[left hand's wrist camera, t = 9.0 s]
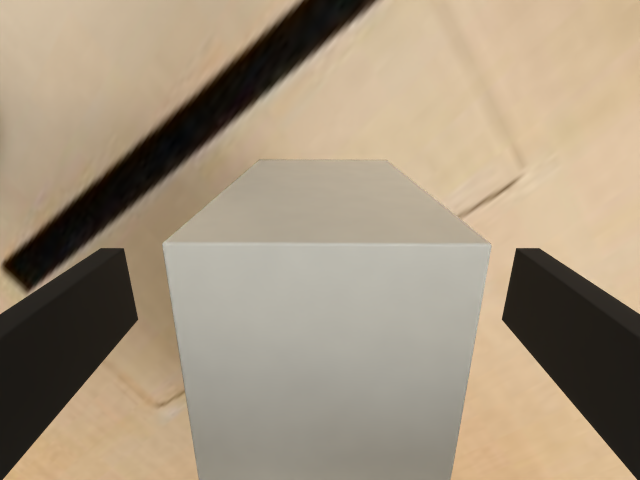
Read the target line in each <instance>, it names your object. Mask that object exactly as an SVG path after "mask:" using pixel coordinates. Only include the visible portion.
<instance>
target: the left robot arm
mask: <svg viewBox="0 0 640 480" xmlns="http://www.w3.org/2000/svg"><path fill="white" fill-rule="evenodd" d="M137 320H138V316H137V312H136V307H135V302H134V297H133V292H132V287H131V282H130V277H129V272H128V267H127V262H126V257H125V252H124V248H101V249H99V250H98V251H96V252H94V253H93V254H91V255H90V256H88V257H87V258H85V259H84V260H82V261H81V262H79V263H78V264H76V265H75V266H73V267H72V268H70V269H69V270H67V271H66V272H64V273H62V274H61V275H59V276H58V277H56V278H55V279H53V280H52V281H50V282H49V283H47V284H46V285H44V286H43V287H41V288H40V289H38V290H37V291H35V292H34V293H32V294H30V295H29V296H27V297H26V298H24V299H23V300H21V301H20V302H18V303H17V304H15V305H14V306H12V307H11V308H9V309H8V310H6V311H5V312H3V313H2V314H0V480H3V479H4V477H5V476H6V475H7V474H8V473H9V472H10V470H11V469H12V468H13V467H14V466H15V464H16V463H17V462H18V461H19V460H20V459H21V457H22V456H23V455H24V454H25V453H26V451H27V450H28V449H29V448H30V447H31V446H32V444H33V443H34V442H35V441H36V440H37V438H38V437H39V436H40V435H41V434H42V433H43V431H44V430H45V429H46V428H47V427H48V425H49V424H50V423H51V422H52V421H53V420H54V418H55V417H56V416H57V415H58V414H59V412H60V411H61V410H62V409H63V408H64V407H65V405H66V404H67V403H68V402H69V401H70V399H71V398H72V397H73V396H74V395H75V394H76V392H77V391H78V390H79V389H80V388H81V386H82V385H83V384H84V383H85V382H86V380H87V379H88V378H89V377H90V376H91V375H92V373H93V372H94V371H95V370H96V369H97V367H98V366H99V365H100V364H101V363H102V362H103V360H104V359H105V358H106V357H107V356H108V354H109V353H110V352H111V351H112V350H113V349H114V347H115V346H116V345H117V344H118V343H119V341H120V340H121V339H122V338H123V337H124V336H125V334H126V333H127V332H128V331H129V330H130V328H131V327H132V326H133V325H134V324H135V323H136V321H137ZM502 320H503V321H504V323H505V324H506V325H507V326H508V327H509V328H510V330H511V331H512V332H513V333H514V334H515V336H516V337H517V338H518V339H519V340H520V341H521V343H522V344H523V345H524V346H525V347H526V349H527V350H528V351H529V352H530V353H531V354H532V356H533V357H534V358H535V359H536V360H537V362H538V363H539V364H540V365H541V366H542V367H543V369H544V370H545V371H546V372H547V373H548V375H549V376H550V377H551V378H552V379H553V380H554V382H555V383H556V384H557V385H558V386H559V388H560V389H561V390H562V391H563V392H564V394H565V395H566V396H567V397H568V398H569V399H570V401H571V402H572V403H573V404H574V405H575V407H576V408H577V409H578V410H579V411H580V412H581V414H582V415H583V416H584V417H585V418H586V420H587V421H588V422H589V423H590V424H591V425H592V427H593V428H594V429H595V430H596V431H597V433H598V434H599V435H600V436H601V437H602V438H603V440H604V441H605V442H606V443H607V444H608V446H609V447H610V448H611V449H612V450H613V451H614V453H615V454H616V455H617V456H618V457H619V459H620V460H621V461H622V462H623V463H624V464H625V466H626V467H627V468H628V469H629V470H630V472H631V473H632V474H633V475H634V476H635V477H636V479H637V480H640V314H638V313H637V312H635V311H634V310H632V309H631V308H629V307H628V306H626V305H625V304H623V303H622V302H620V301H619V300H617V299H616V298H614V297H613V296H611V295H610V294H608V293H606V292H605V291H603V290H602V289H600V288H599V287H597V286H596V285H594V284H593V283H591V282H590V281H588V280H587V279H585V278H584V277H582V276H581V275H579V274H578V273H576V272H574V271H573V270H571V269H570V268H568V267H567V266H565V265H564V264H562V263H561V262H559V261H558V260H556V259H555V258H553V257H552V256H550V255H549V254H547V253H546V252H544V251H542V250H541V249H539V248H516V252H515V257H514V262H513V267H512V272H511V277H510V282H509V287H508V292H507V297H506V302H505V307H504V312H503V316H502Z"/></svg>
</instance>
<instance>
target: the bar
mask: <svg viewBox="0 0 640 480" xmlns="http://www.w3.org/2000/svg"><path fill="white" fill-rule="evenodd" d="M162 246H163V252H164V259H165V265H166V272H167V278H168V285H169V291H170V297H171V304H172V310H173V317H174V323H175V329H176V336H177V342H178V349H179V355H180V362H181V368H182V374H183V381H184V387H185V394H186V400H187V406H188V413H189V419H190V426H191V432H192V439H193V445H194V451H195V458H196V464H197V471H198V477H199V480H451V474H452V469H453V463H454V457H455V451H456V446H457V440H458V434H459V429H460V423H461V417H462V412H463V406H464V400H465V394H466V389H467V383H468V377H469V372H470V366H471V360H472V354H473V349H474V343H475V337H476V332H477V326H478V320H479V315H480V309H481V303H482V297H483V292H484V286H485V280H486V275H487V269H488V263H489V258H490V252H491V243H490V242H488V241H487V240H486V239H485V238H483V237H482V236H481V235H480V234H478V233H477V232H476V231H475V230H473V229H472V228H471V227H470V226H468V225H467V224H466V223H465V222H463V221H462V220H461V219H460V218H458V217H457V216H456V215H455V214H453V213H452V212H451V211H450V210H449V209H447V208H446V207H445V206H444V205H442V204H441V203H440V202H439V201H437V200H436V199H435V198H434V197H432V196H431V195H430V194H429V193H427V192H426V191H425V190H424V189H422V188H421V187H420V186H419V185H417V184H416V183H415V182H414V181H412V180H411V179H410V178H409V177H407V176H406V175H405V174H404V173H402V172H401V171H400V170H399V169H398V168H396V167H395V166H394V165H393V164H391V163H390V162H389V161H388V160H258V161H257V162H256V163H255V164H254V165H253V166H251V167H250V168H249V169H248V170H247V171H246V172H244V173H243V174H242V175H241V176H240V177H239V178H237V179H236V180H235V181H234V182H233V183H232V184H230V185H229V186H228V187H227V188H226V189H225V190H223V191H222V192H221V193H220V194H219V195H218V196H216V197H215V198H214V199H213V200H212V201H211V202H210V203H208V204H207V205H206V206H205V207H204V208H203V209H201V210H200V211H199V212H198V213H197V214H196V215H194V216H193V217H192V218H191V219H190V220H189V221H187V222H186V223H185V224H184V225H183V226H182V227H180V228H179V229H178V230H177V231H176V232H175V233H173V234H172V235H171V236H170V237H169V238H168V239H167V240H165V241H164V242H163V244H162Z"/></svg>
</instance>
